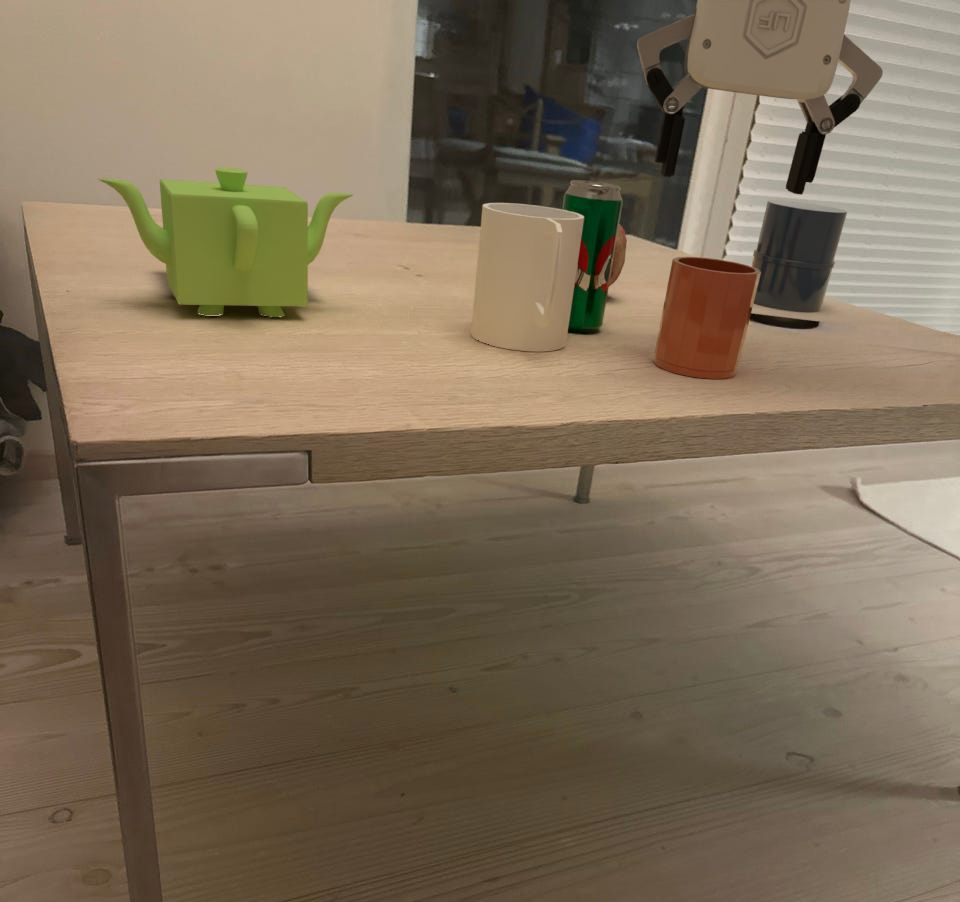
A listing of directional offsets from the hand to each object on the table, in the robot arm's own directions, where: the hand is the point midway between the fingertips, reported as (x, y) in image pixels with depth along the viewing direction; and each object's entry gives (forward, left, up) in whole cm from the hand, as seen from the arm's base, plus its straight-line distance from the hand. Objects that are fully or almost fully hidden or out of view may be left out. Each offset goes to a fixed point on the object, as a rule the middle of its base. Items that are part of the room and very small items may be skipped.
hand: (730, 183), depth 69 cm
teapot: (+39, -2, -14) cm, 41 cm away
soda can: (+10, -10, -14) cm, 19 cm away
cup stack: (-12, -26, -14) cm, 32 cm away
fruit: (+9, -26, -14) cm, 30 cm away
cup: (+14, -1, -14) cm, 20 cm away
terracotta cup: (0, 0, -14) cm, 14 cm away
